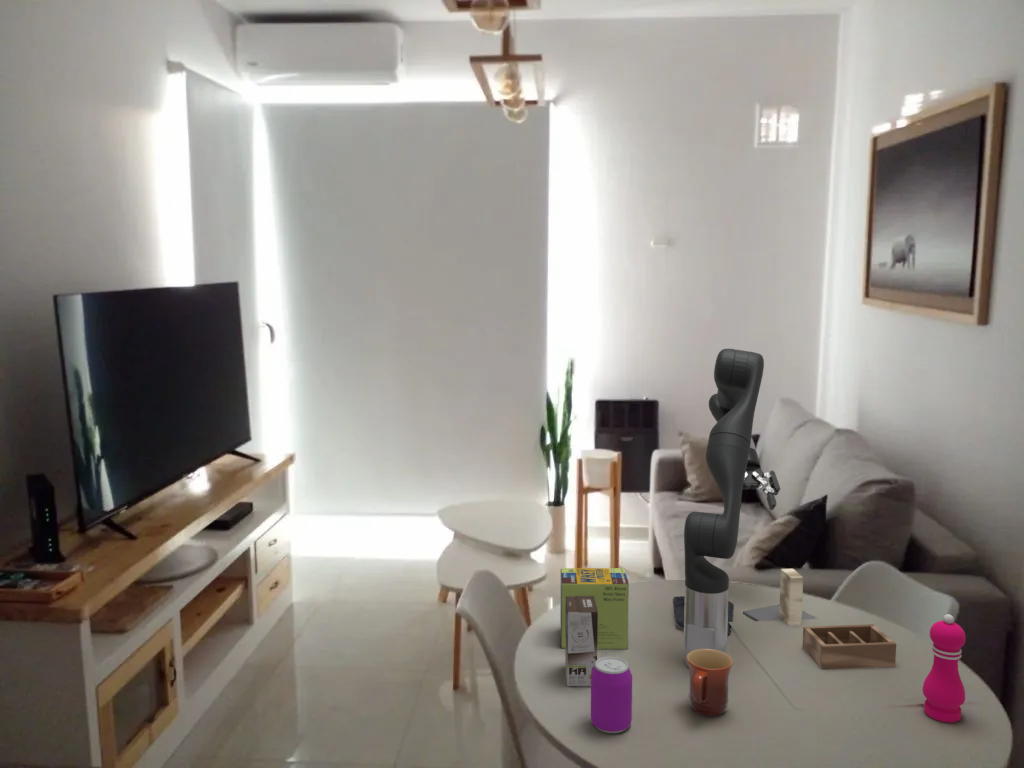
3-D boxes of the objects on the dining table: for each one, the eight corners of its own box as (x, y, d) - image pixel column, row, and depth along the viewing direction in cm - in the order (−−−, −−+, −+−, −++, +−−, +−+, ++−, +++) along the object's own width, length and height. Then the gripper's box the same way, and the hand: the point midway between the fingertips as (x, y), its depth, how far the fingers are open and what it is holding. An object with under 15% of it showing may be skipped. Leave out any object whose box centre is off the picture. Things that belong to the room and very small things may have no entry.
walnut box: (802, 651, 182) (803, 626, 181) (871, 648, 183) (872, 624, 182) (822, 672, 172) (823, 646, 171) (894, 669, 173) (896, 644, 172)
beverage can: (582, 725, 152) (582, 664, 151) (606, 709, 158) (606, 650, 156) (616, 740, 147) (616, 678, 146) (639, 723, 153) (640, 663, 151)
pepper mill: (947, 728, 151) (954, 625, 148) (912, 710, 157) (918, 611, 154) (972, 718, 154) (979, 617, 151) (937, 701, 160) (943, 604, 158)
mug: (694, 693, 164) (695, 644, 163) (737, 704, 159) (738, 655, 158) (672, 720, 154) (673, 669, 153) (717, 733, 149) (719, 680, 148)
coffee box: (598, 687, 167) (598, 612, 165) (566, 686, 167) (566, 612, 165) (594, 666, 176) (594, 594, 174) (564, 666, 176) (564, 594, 174)
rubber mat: (840, 632, 191) (840, 630, 191) (792, 642, 186) (793, 640, 186) (787, 604, 208) (787, 602, 208) (742, 613, 203) (742, 611, 203)
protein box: (628, 649, 183) (629, 583, 181) (560, 649, 184) (560, 583, 182) (624, 629, 194) (624, 567, 192) (559, 629, 194) (559, 567, 192)
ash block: (779, 615, 200) (780, 568, 198) (791, 615, 200) (792, 568, 198) (789, 625, 194) (790, 577, 192) (801, 625, 194) (803, 577, 193)
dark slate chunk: (666, 632, 193) (666, 613, 193) (674, 597, 214) (675, 580, 214) (732, 639, 189) (733, 620, 188) (734, 604, 210) (735, 586, 209)
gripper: (718, 446, 208) (731, 501, 198) (772, 446, 209) (788, 500, 199) (711, 462, 214) (724, 516, 204) (764, 462, 215) (779, 515, 205)
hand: (755, 508), depth 202 cm, fingers open, 8 cm apart
